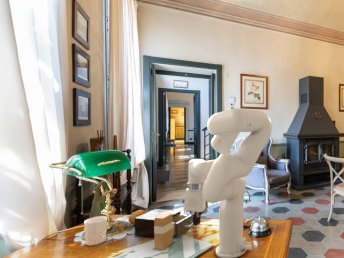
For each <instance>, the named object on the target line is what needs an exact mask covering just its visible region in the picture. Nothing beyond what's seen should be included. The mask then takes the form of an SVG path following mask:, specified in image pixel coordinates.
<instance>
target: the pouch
mask: <svg viewBox="0 0 344 258" xmlns="http://www.w3.org/2000/svg"><path fill="white" fill-rule="evenodd" d="M105 179H106V180H107V181H108V179H107V178H105ZM101 185H102V186H103V188H104V191H108V182H107V183H106V182H105V181H103V179H101V180H100V182H97V183H96V186H95V188H94V190H95V191H94V197H93V200H92V201H91V205H92V206H91V209H90V213H89V217H88V219H90V218H93V217H98V216H106V215H103V214H101V211H102V210H103V209H105V207H106V203H105V201H106V196H102V192H101V188H100V187H101ZM106 217H107V216H106ZM107 222H108V217H107Z"/></svg>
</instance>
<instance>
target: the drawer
mask: <svg viewBox="0 0 344 258" xmlns="http://www.w3.org/2000/svg"><path fill="white" fill-rule="evenodd" d="M193 228H194V226H193V217H192V215H191V214H189V215H188V214H181V215H180V214H177V215H175V216H173V237H174V238H175V239H178V238H179V237H181V236H182V235H184V234H185V233H187V232H188V231H189V230H192V229H193Z"/></svg>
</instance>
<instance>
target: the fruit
mask: <svg viewBox="0 0 344 258" xmlns="http://www.w3.org/2000/svg"><path fill="white" fill-rule="evenodd" d="M145 213H147V212H146V211H145V209H138V210H136V211H133V212H132V213H131V214H130V215H129V217H128V222H129V223H130V224H131V225H133V226H135V218H136V217H138V216H141V215H143V214H145Z"/></svg>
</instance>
